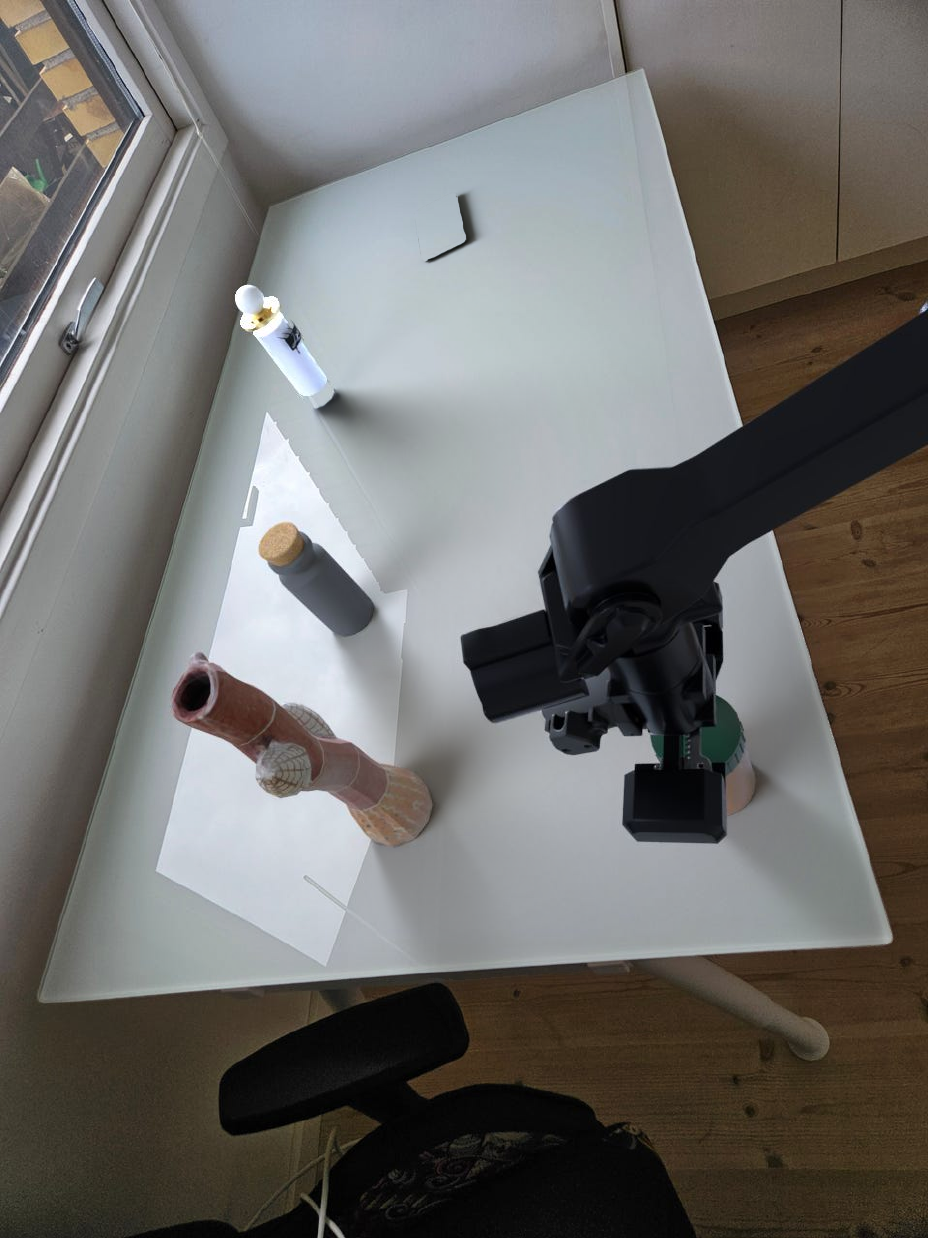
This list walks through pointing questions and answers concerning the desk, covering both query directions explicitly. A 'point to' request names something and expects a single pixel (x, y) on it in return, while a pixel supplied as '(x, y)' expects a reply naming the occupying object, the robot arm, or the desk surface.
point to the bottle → (316, 579)
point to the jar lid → (716, 738)
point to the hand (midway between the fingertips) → (697, 749)
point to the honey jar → (740, 785)
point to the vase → (301, 752)
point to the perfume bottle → (279, 340)
